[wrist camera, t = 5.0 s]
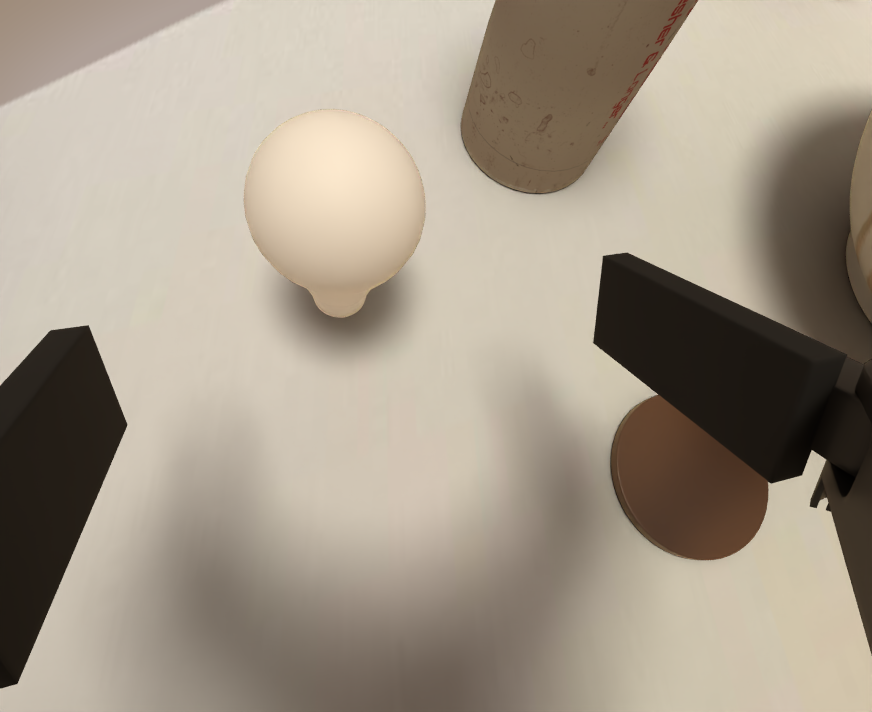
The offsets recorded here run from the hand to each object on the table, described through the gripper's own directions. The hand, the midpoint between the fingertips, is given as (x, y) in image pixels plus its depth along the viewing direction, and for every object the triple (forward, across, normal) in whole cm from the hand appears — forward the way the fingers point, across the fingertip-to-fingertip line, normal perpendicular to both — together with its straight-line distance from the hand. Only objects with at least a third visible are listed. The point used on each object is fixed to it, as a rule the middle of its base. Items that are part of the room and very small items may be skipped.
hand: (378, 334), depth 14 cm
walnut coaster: (+4, +15, -12) cm, 19 cm away
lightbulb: (+12, 0, -4) cm, 13 cm away
